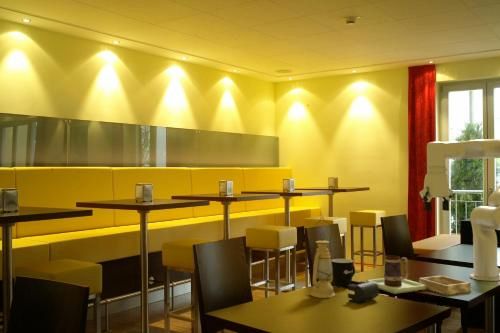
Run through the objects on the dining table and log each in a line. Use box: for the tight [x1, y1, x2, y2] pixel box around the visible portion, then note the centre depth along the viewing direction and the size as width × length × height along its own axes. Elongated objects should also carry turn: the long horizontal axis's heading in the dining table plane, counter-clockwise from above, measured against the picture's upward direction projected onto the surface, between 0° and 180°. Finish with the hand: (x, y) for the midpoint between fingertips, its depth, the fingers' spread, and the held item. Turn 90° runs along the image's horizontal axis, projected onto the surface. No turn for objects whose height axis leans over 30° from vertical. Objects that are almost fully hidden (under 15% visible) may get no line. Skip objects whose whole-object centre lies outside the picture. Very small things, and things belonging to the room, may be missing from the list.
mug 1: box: [331, 258, 356, 287], centre depth 211 cm, size 12×9×10 cm
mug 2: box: [383, 255, 409, 287], centre depth 205 cm, size 10×7×12 cm
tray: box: [365, 277, 428, 295], centre depth 205 cm, size 16×18×2 cm
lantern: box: [310, 216, 336, 299], centre depth 193 cm, size 12×10×30 cm
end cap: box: [347, 281, 380, 305], centre depth 183 cm, size 10×7×7 cm
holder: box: [418, 275, 471, 296], centre depth 201 cm, size 12×15×4 cm
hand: (436, 210), depth 214 cm, fingers open, 9 cm apart
